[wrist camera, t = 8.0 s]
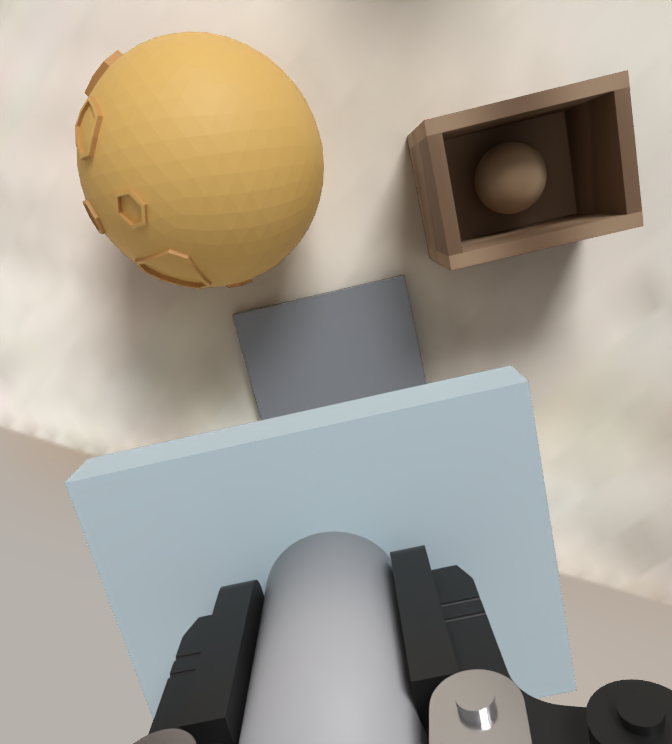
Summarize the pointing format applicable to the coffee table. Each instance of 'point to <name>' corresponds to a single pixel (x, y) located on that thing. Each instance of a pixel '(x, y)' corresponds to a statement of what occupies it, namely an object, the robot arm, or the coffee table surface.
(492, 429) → the lid
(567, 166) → the walnut box
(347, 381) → the slate mat
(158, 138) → the stress ball
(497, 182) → the cork ball
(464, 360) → the coffee table surface
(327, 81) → the coffee table surface
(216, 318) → the coffee table surface
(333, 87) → the coffee table surface
